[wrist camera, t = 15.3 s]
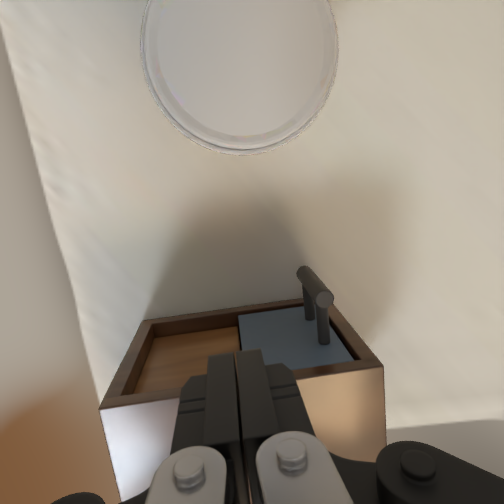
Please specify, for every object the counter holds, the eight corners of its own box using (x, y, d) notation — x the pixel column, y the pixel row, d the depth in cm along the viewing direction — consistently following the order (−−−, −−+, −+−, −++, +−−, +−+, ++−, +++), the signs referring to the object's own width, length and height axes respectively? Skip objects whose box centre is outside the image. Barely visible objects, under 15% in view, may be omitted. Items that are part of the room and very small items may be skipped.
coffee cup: (172, 21, 27) (136, -88, 15) (299, 35, 28) (356, -59, 16) (169, 154, 29) (135, 146, 17) (288, 163, 30) (331, 161, 18)
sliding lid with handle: (231, 269, 30) (236, 313, 21) (312, 258, 31) (350, 297, 22) (238, 321, 31) (246, 385, 22) (316, 310, 32) (355, 369, 23)
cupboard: (142, 320, 32) (97, 409, 20) (326, 294, 33) (384, 365, 21) (162, 421, 34) (132, 553, 23) (333, 394, 35) (389, 508, 23)
